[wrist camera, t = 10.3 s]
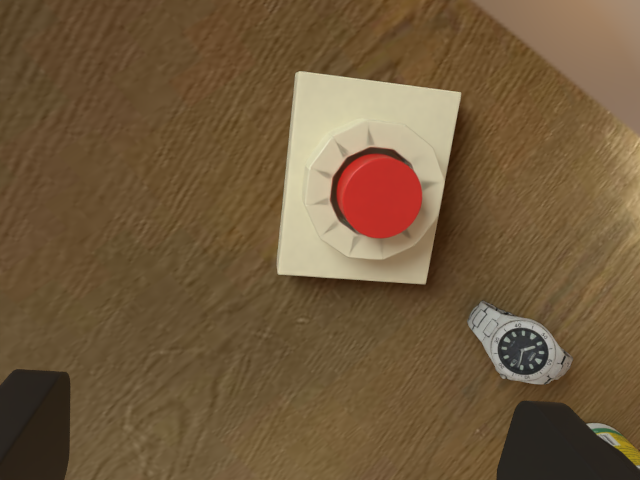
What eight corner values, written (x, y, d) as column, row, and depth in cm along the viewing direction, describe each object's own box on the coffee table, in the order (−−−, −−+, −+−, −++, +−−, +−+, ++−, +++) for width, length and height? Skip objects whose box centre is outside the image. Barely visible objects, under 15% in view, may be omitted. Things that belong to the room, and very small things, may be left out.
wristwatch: (479, 280, 29) (524, 317, 24) (557, 325, 30) (613, 367, 26) (446, 329, 29) (483, 374, 25) (524, 370, 31) (573, 420, 26)
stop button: (341, 149, 22) (348, 153, 21) (417, 157, 23) (429, 162, 21) (331, 225, 23) (337, 235, 22) (404, 231, 24) (415, 242, 22)
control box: (295, 72, 24) (301, 68, 21) (449, 92, 25) (478, 92, 22) (276, 264, 27) (279, 288, 24) (416, 274, 28) (437, 298, 25)
